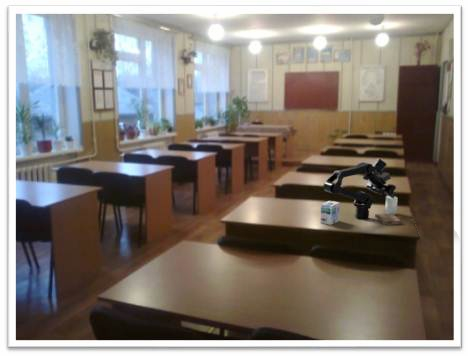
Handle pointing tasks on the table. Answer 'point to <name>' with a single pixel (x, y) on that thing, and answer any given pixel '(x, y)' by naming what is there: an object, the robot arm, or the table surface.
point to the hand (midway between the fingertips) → (387, 195)
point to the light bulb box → (330, 212)
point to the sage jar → (391, 205)
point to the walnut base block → (388, 219)
